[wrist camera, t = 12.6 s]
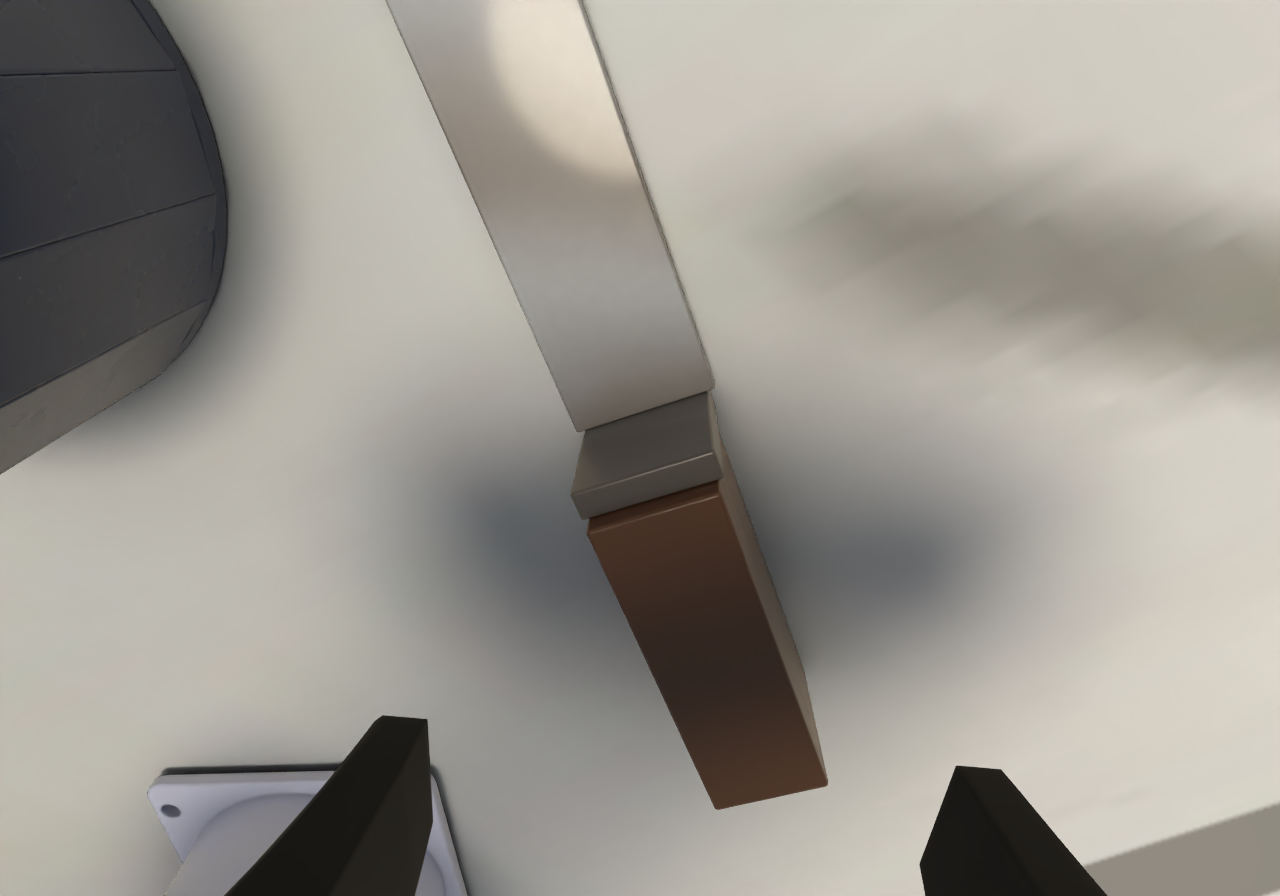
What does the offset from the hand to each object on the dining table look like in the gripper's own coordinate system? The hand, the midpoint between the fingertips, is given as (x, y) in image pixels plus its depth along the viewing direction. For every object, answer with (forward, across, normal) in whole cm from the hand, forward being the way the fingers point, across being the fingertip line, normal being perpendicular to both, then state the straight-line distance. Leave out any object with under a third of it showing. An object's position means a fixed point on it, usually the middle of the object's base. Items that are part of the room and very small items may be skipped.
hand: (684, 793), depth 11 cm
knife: (+7, +1, -3) cm, 8 cm away
